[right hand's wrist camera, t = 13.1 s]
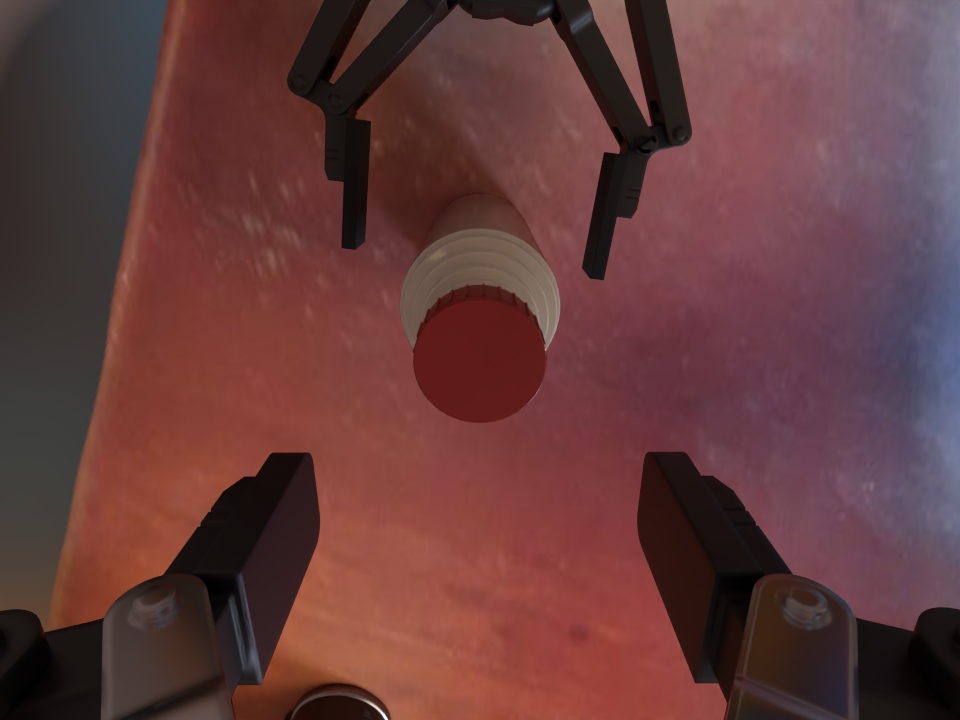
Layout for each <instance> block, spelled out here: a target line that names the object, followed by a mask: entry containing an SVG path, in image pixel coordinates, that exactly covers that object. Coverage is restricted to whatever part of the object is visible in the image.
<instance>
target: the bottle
mask: <svg viewBox="0 0 960 720" xmlns="http://www.w3.org/2000/svg"><path fill="white" fill-rule="evenodd" d="M483 283H485V285H491V286H495V287H498V286H501V288H502V289H505V290H507V291H509V292H511V293H513V292H514V293H515V294H516V296H517V297H519V298H520V299H521V300H522V301H523V302H524V303H525V302H527V304H528V307H529V309H530V310H531V311H532V313H533V315H536V317H537V320H538V323H539V326H540V329H541V330H542V333H543V336H544V339H545V343H546V344H545V345H544V346H545V350H546V349H547V348H548V346H549V344H550V342H551V341H552V339H553V336H554V334H555V332H556V329H557V325H558V322H559V315H560V296H559V290H558V286H557V282H556V279H555V277H554V275H553V273H552V270H551V269H550V267H549V265H548V263H547V261H546V259H545V257H544V255H543V253H542V252H541V250H540V248H539V246H538V244H537V242H536V240H535V238H534V237H533V235H532V233H531V231H530V229H529V227H528V225H527V223H526V222H525V220H524V218H523V217H522V215H521V214H520V213H519V211H518V210H517V209H516V208H515V207H514V206H513V205H511V204H510V203H509V202H507V201H505V200H504V199H502V198H499V197H497V196H494V195H489V194H471V195H466V196H463V197H460V198H458V199H456V200H454V201H453V202H451V203H450V204H448V205H447V206H446V207H445V208H444V209H443V210H442V211H441V212H440V214H439V215H438V217H437V218H436V220H435V222H434V223H433V225H432V227H431V229H430V231H429V233H428V235H427V237H426V238H425V240H424V242H423V244H422V246H421V248H420V250H419V252H418V253H417V255H416V257H415V259H414V261H413V263H412V265H411V267H410V269H409V271H408V273H407V275H406V277H405V279H404V283H403V286H402V290H401V296H400V316H401V321H402V325H403V329H404V332H405V334H406V337H407V339H408V341H409V342H410V344H411V346H412V348H413V349H414V346H415V343H416V340H417V337H416V336H417V333H418V330H419V326H420V323H421V322H423V320H424V318H425V316H426V313H427V310H428V309H430V308H431V307H432V306H433V305H434V304H435V303H436V302H437V299H438V298H439V297H440V298H442V297H443V296H444V295H446V294H447V293H449V292H451V290H452V289H453V290H455V289H458V288H461V287H464V286H466V285H467V284H469V286H470V285H482V284H483Z"/></svg>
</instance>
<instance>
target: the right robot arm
mask: <svg viewBox="0 0 960 720" xmlns="http://www.w3.org/2000/svg"><path fill="white" fill-rule="evenodd" d="M637 527H638V535H639V540H640V544H641V547H642V549H643V552H644V554H645V557H646V559H647V562H648V564H649V567H650V570H651V572H652V575H653V577H654V580H655V582H656V585H657V587H658V590H659V592H660V595H661V598H662V600H663V603H664V605H665V608H666V610H667V613H668V615H669V618H670V620H671V623H672V626H673V628H674V631H675V633H676V636H677V638H678V641H679V643H680V646H681V648H682V651H683V653H684V656H685V659H686V661H687V664H688V666H689V669H690V671H691V674H692V676H693V679H694V681H695V683H719V685H720V688H721V690H722V692H723V695H724V697H725V699H726V701H727V707H726V711H725V716H724V720H960V610H959V609H953V608H943V607H938V608H931V609H928V610H925V611H924V612H922V613H921V615H920V616H919V618H918V620H917V623H916V626H915V628H914V631H909V630H905V629H901V628H897V627H892V626H888V625H884V624H880V623H875V622H871V621H867V620H863V619H859V618H855V615H854V613H853V611H852V610H851V608H850V607H849V606H848V605H847V603H846V602H845V601H844V600H843V599H842V598H841V597H839V596H838V595H837V594H836V593H834V592H833V591H832V590H830V589H829V588H827V587H825V586H823V585H822V584H820V583H817V582H815V581H813V580H810V579H808V578H805V577H801V576H798V575H793V574H792V572H791V571H790V569H789V568H788V567H787V565H786V564H785V562H784V561H783V560H782V558H781V557H780V555H779V554H778V553H777V551H776V550H775V548H774V547H773V546H772V544H771V543H770V541H769V540H768V539H767V537H766V536H765V534H764V533H763V532H762V530H761V529H760V527H759V526H756V522H755V520H754V519H753V518H752V516H751V515H750V513H749V512H748V511H746V510H745V506H744V505H743V504H742V502H741V501H740V499H739V498H738V497H737V495H736V494H735V492H734V491H733V490H732V489H730V488H729V487H727V486H726V485H725V484H723V483H722V482H720V481H719V480H718V479H716V478H715V477H713V476H701V475H700V473H699V472H698V470H697V469H696V467H695V465H694V464H693V462H692V461H691V459H690V458H689V456H688V455H687V454H686V453H685V452H648V453H647V454H646V456H645V459H644V465H643V473H642V481H641V489H640V497H639V505H638V514H637ZM319 530H320V513H319V505H318V497H317V489H316V481H315V472H314V464H313V459H312V456H311V454H310V453H271V454H270V455H269V457H268V458H267V460H266V461H265V463H264V464H263V466H262V467H261V469H260V470H259V472H258V473H257V475H256V477H243V478H242V479H240V480H239V481H237V482H236V483H235V484H233V485H232V486H230V487H229V488H228V489H226V490H225V491H223V493H222V494H221V496H220V497H219V498H218V500H217V501H216V503H215V504H214V505H213V507H212V508H211V512H208V514H207V515H206V516H205V518H204V519H203V521H202V522H201V526H200V527H197V529H196V530H195V532H194V533H193V534H192V536H191V537H190V539H189V540H188V541H187V543H186V544H185V545H184V547H183V548H182V550H181V551H180V552H179V554H178V555H177V557H176V558H175V559H174V561H173V562H172V563H171V565H170V566H169V568H168V569H167V570H166V572H165V573H164V575H162V576H159V577H155V578H152V579H150V580H147V581H145V582H143V583H140V584H138V585H137V586H135V587H133V588H131V589H130V590H128V591H127V592H126V593H124V594H123V595H122V596H121V597H119V598H118V599H117V600H116V601H115V602H114V603H113V605H112V606H111V607H110V608H109V610H108V611H107V613H106V615H105V618H102V619H99V620H95V621H91V622H87V623H83V624H79V625H74V626H70V627H66V628H62V629H57V630H53V631H49V632H45V633H44V630H43V628H42V625H41V622H40V620H39V618H38V617H37V615H35V614H34V613H33V612H30V611H27V610H20V609H14V610H4V611H0V720H236V716H235V711H234V707H233V702H232V696H233V693H234V691H235V689H236V687H237V685H261V683H262V681H263V678H264V676H265V673H266V671H267V668H268V666H269V663H270V661H271V658H272V656H273V653H274V651H275V648H276V646H277V643H278V641H279V638H280V636H281V633H282V631H283V628H284V626H285V623H286V621H287V618H288V616H289V613H290V611H291V608H292V606H293V603H294V601H295V598H296V596H297V593H298V591H299V588H300V586H301V583H302V581H303V578H304V576H305V573H306V571H307V568H308V566H309V563H310V561H311V558H312V556H313V553H314V551H315V548H316V545H317V542H318V537H319ZM284 720H391V717H390V714H389V711H388V709H387V708H386V706H385V705H384V704H383V703H382V702H381V701H380V700H379V699H378V698H377V697H375V696H374V695H372V694H371V693H369V692H367V691H365V690H362V689H359V688H356V687H351V686H345V685H331V686H324V687H320V688H317V689H314V690H312V691H310V692H308V693H307V694H305V695H304V696H303V697H302V698H301V699H300V700H299V701H298V702H297V704H296V706H295V708H294V711H293V712H291V713H289V714H287V715H286V716H285V719H284Z"/></svg>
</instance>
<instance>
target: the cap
mask: <svg viewBox="0 0 960 720" xmlns="http://www.w3.org/2000/svg"><path fill="white" fill-rule="evenodd" d="M416 337H417V340H416V343H415V346H414V349H413V353H414V359H413V364H414V372H415V376H416V380H417V382H418V385H419V387H420V389H421V390H422V392H423V394H424V395H425V396H426V398H427V399H428V400H429V401H430V402H431V403H432V404H433V405H434V406H435V407H436V408H438V409H439V410H440V411H442V412H443V413H445V414H447V415H449V416H451V417H453V418H456V419H459V420H462V421H467V422H474V423H487V422H493V421H498V420H501V419H504V418H507V417H509V416H511V415H513V414H515V413H517V412H518V411H520V410H521V409H522V408H524V407H525V406H526V405H527V404H528V403H529V402H530V401H531V400H532V399H533V398H534V396H535V395H536V394H537V392H538V390H539V389H540V387H541V384H542V382H543V380H544V376H545V372H546V365H547V356H546V350H545V346H544V345H545V344H546V343H545V339H544V336H543V333H542V330H541V329H540V326H539V323H538V320H537V317H536V315H533V313H532V311H531V310H530V309H529V307H528V304H527V302H525V303H524V302H523V301H522V300H521V299H520V298H519V297H517V296H516V294H515V293H514V292H513V293H511V292H509V291H507V290H505V289H502V288H501V286H498V287H495V286H491V285H485V283H483V284H482V285H470V286H469V284H467V285H466V286H464V287H461V288H458V289H455V290H453V289H452V290H451V292H449V293H447V294H446V295H444V296H443V297H442V298H440V297H439V298H438V299H437V302H436V303H435V304H434V305H433V306H432V307H431V308H430V309H428V310H427V313H426V316H425V318H424V320H423V322H421V323H420V326H419V330H418V333H417V336H416Z"/></svg>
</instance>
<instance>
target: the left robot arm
mask: <svg viewBox="0 0 960 720" xmlns="http://www.w3.org/2000/svg"><path fill="white" fill-rule="evenodd" d="M624 1H625V7H626V12H627V17H628V21H629V25H630V30H631V34H632V39H633V43H634V48H635V52H636V57H637V61H638V66H639V70H640V75H641V79H642V83H643V88H644V92H645V97H646V101H647V106H648V110H649V115H650V119H651V124H652V126H649V127H648V125H647V123H646V121H645V119H644V117H643V115H642V113H641V111H640V109H639V107H638V105H637V103H636V101H635V99H634V97H633V95H632V93H631V91H630V89H629V87H628V85H627V83H626V81H625V79H624V77H623V76H622V74H621V72H620V70H619V68H618V66H617V64H616V62H615V60H614V58H613V56H612V54H611V52H610V50H609V48H608V46H607V44H606V42H605V40H604V38H603V36H602V34H601V32H600V30H599V28H598V26H597V24H596V22H595V20H594V17H593V12H592V9H591V6H590V4H589V2H588V0H408V1H407V3H406V4H405V5H404V6H403V7H402V8H401V9H400V10H399V12H398V13H397V14H396V15H395V16H394V17H393V18H392V19H391V21H390V22H389V23H388V24H387V25H386V26H385V27H384V28H383V29H382V31H381V32H380V33H379V34H378V35H377V36H376V37H375V38H374V40H373V41H372V42H371V43H370V44H369V45H368V46H367V47H366V49H365V50H364V51H363V52H362V53H361V54H360V55H359V56H358V57H357V59H356V60H355V61H354V62H353V63H352V64H351V65H350V66H349V68H348V69H347V70H346V71H345V72H344V73H343V74H342V75H341V77H340V78H339V79H338V80H337V81H336V82H335V83H334V84H332V83H330V82H329V80H330V79H331V77H332V75H333V73H334V71H335V69H336V67H337V65H338V63H339V61H340V59H341V57H342V55H343V53H344V51H345V49H346V47H347V45H348V43H349V41H350V39H351V37H352V35H353V33H354V31H355V30H356V28H357V26H358V24H359V22H360V20H361V18H362V16H363V14H364V12H365V10H366V8H367V6H368V4H369V2H370V0H324V2H323V4H322V6H321V8H320V10H319V13H318V15H317V17H316V19H315V21H314V23H313V25H312V27H311V29H310V31H309V33H308V35H307V37H306V39H305V41H304V43H303V46H302V48H301V50H300V52H299V54H298V56H297V58H296V60H295V62H294V64H293V66H292V68H291V70H290V72H289V74H288V78H287V83H288V87H289V89H290V90H291V91H292V92H293V93H294V94H296V95H299V96H301V97H303V98H305V99H307V100H309V101H311V102H312V103H314V104H316V105H317V106H319V107H320V108H321V109H322V111H323V112H324V115H325V119H326V132H325V172H326V175H327V178H328V180H334V181H342V182H344V193H343V222H342V248H346V249H354V250H356V249H357V248H358V247H359V246H360V245H361V244H362V243H364V242H365V231H366V211H367V191H368V170H369V150H370V129H371V121H366V120H359V119H355V115H357V113H356V111H357V110H358V109H359V108H360V107H361V106H362V105H363V104H364V103H365V102H366V101H367V99H368V98H369V97H370V96H371V95H372V94H373V93H374V92H375V91H376V90H377V89H378V88H379V86H380V85H381V84H382V83H383V82H384V81H385V80H386V79H387V78H388V77H389V76H390V75H391V73H392V72H393V71H394V70H395V69H396V68H397V67H398V66H399V65H400V64H401V63H402V61H403V60H404V59H405V58H406V57H407V56H408V55H409V54H410V53H411V52H412V51H413V50H414V48H415V47H416V46H417V45H418V44H419V43H420V42H421V41H422V40H423V39H424V38H425V37H426V35H427V34H428V33H429V32H430V31H431V30H432V29H433V28H434V27H435V26H436V25H437V24H438V23H440V22H441V21H442V20H443V19H444V18H445V17H446V16H447V15H448V14H449V13H450V12H451V11H452V10H453V9H454V8H455V6H456V5H457V4H459V5H460V7H461V8H462V9H463V10H464V11H466V12H467V13H469V14H471V15H472V18H478V19H485V20H489V19H495V18H502V17H503V18H506V19H508V20H510V21H512V22H514V23H516V24H520V25H527V26H533V25H534V24H535V23H539V22H542V21H544V20H546V19H547V18H550V20H551V21H552V23H553V25H554V27H555V29H556V31H557V33H558V35H559V36H560V38H561V39H562V40H563V41H564V42H565V44H566V46H567V48H568V50H569V51H570V53H571V55H572V57H573V59H574V61H575V63H576V65H577V67H578V68H579V70H580V72H581V74H582V76H583V78H584V80H585V82H586V84H587V85H588V87H589V89H590V91H591V93H592V95H593V97H594V99H595V101H596V103H597V104H598V106H599V108H600V110H601V112H602V114H603V116H604V118H605V120H606V121H607V123H608V125H609V127H610V129H611V131H612V133H613V135H614V137H615V138H616V140H617V142H618V144H619V146H620V153H619V154H615V153H607V152H604V155H603V161H602V166H601V171H600V176H599V182H598V187H597V192H596V197H595V202H594V208H593V213H592V218H591V223H590V229H589V234H588V239H587V244H586V249H585V255H584V260H583V265H582V269H583V270H584V271H585V272H586V274H587V275H588V276H589V278H590V279H598V280H604V276H605V271H606V266H607V261H608V256H609V252H610V247H611V242H612V237H613V232H614V227H615V223H616V218H617V217H624V218H632V216H633V215H634V213H635V212H636V210H637V206H638V202H639V197H640V193H641V188H642V184H643V179H644V174H645V170H646V165H647V162H648V160H649V158H650V156H651V155H652V154H653V153H655V152H657V151H659V150H663V149H667V148H671V147H676V146H683V145H685V144H686V143H687V142H688V141H689V140H690V138H691V135H692V128H691V123H690V118H689V113H688V108H687V103H686V98H685V93H684V88H683V83H682V78H681V74H680V69H679V64H678V59H677V54H676V49H675V44H674V39H673V34H672V29H671V24H670V19H669V14H668V9H667V4H666V0H624Z"/></svg>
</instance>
